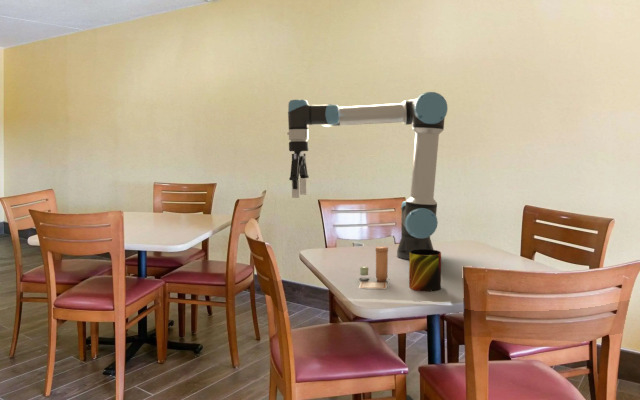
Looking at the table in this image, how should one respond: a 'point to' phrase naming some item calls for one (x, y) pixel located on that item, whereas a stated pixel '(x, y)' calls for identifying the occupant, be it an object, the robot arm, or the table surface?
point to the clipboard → (372, 284)
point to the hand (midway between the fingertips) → (299, 196)
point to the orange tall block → (381, 264)
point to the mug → (425, 270)
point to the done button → (363, 270)
